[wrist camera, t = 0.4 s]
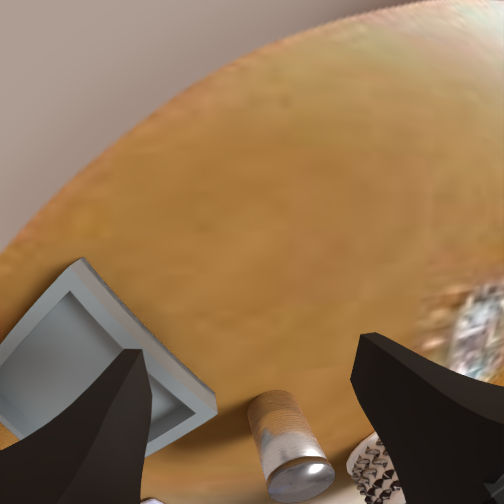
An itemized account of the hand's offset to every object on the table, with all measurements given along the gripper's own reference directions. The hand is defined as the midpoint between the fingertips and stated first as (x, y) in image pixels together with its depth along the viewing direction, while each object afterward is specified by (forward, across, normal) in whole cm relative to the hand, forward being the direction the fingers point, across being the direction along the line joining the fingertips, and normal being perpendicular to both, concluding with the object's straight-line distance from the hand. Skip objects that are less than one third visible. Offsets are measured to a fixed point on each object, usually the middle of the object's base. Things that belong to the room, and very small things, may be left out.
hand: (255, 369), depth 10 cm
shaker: (+9, -3, +12) cm, 15 cm away
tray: (+9, +12, +9) cm, 17 cm away
